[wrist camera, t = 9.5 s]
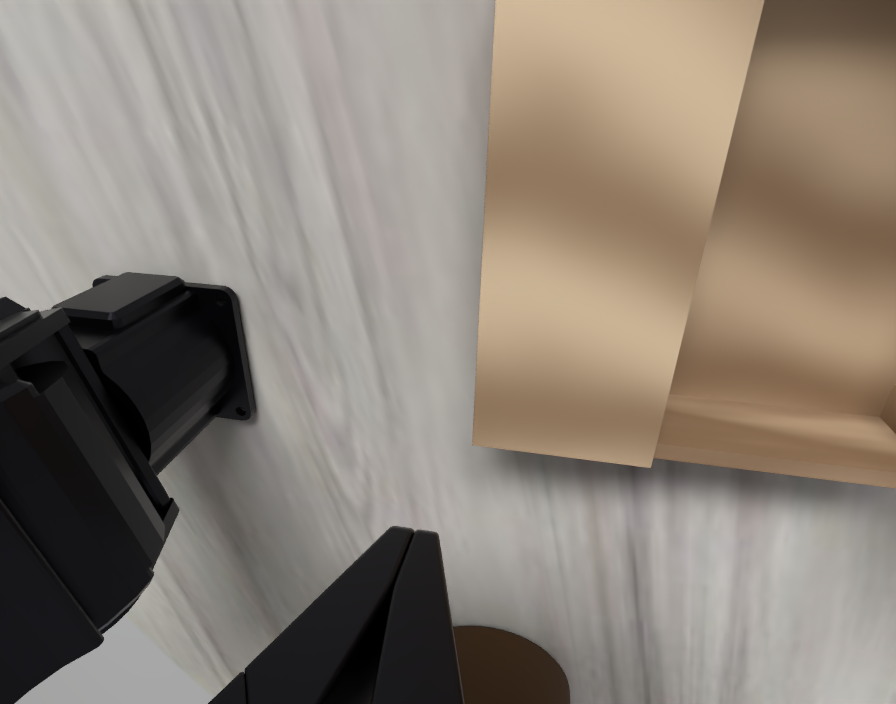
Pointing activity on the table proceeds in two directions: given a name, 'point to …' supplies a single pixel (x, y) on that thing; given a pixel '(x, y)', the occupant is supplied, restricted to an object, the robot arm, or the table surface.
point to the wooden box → (800, 260)
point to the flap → (599, 213)
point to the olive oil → (507, 669)
